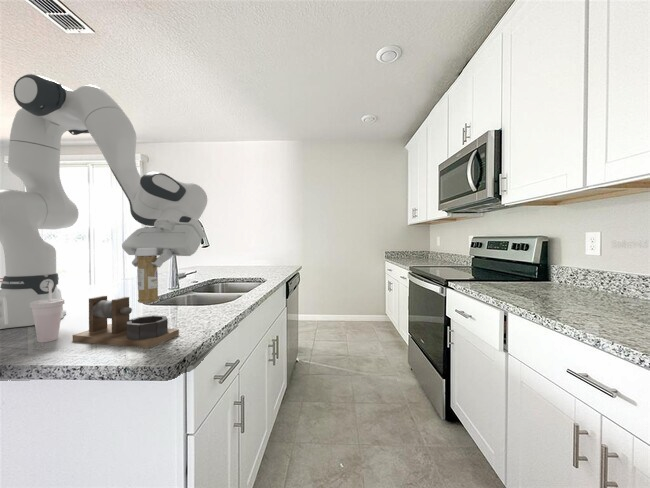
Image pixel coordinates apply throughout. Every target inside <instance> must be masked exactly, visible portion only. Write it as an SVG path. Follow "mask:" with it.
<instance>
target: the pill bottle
mask: <svg viewBox="0 0 650 488" xmlns="http://www.w3.org/2000/svg"><path fill="white" fill-rule="evenodd" d="M157 255H158V250H157V248H137V249H136V256H137V265H138V267H136V268H137V270H136V271H137V276H136V277H137V290H138V293H137V294H138V295H137V296H138V297H137V298H138V300H137V302H138V303H140V304H151V303H154V302H157V301H159V293H158V292H159V289H158V288H159V283H158V282H159V281H158V274H159V273H158V267H153V265H152V264H151V262H152V261H153V259H154V258H158V256H157Z"/></svg>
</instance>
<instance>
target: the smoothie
mask: <svg viewBox="0 0 650 488" xmlns="http://www.w3.org/2000/svg"><path fill="white" fill-rule="evenodd" d="M64 304H65V299H64V298H62V299H52V283H49V299H46V300H38V301H34V302H31V303H30V307H31V308H32V312H33V318H34V323H35V325H34V328H35V335H36V337H37V343H49V342H54V341H56V340H58V338H59V334H60V327H61V320H62V318H61V314H62V307H63V308H64V306H63V305H64Z"/></svg>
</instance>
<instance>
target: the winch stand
mask: <svg viewBox="0 0 650 488" xmlns="http://www.w3.org/2000/svg"><path fill="white" fill-rule="evenodd" d="M132 312H133V309H132V307H130V296H124V297H118V298H114V299H113V298H112V299H111V300H108V295H100V296H95V297H89V298H88V330H85V331H82V332H79V333H75V334H72V342H74V343H75V342H77V343H85V344H86V343H88V344H96V345H97V344H100V345H108V346H119V347H129V348H130V347H131V348H140V349H151V348H153V347H155V346H157V345H160V344H162V343H165V342H167V341H168V340H171V339H173V338H175V337H178V336H179V334H180V333H179V331H180V330H179V329H178V328H177V329H176V328H169V327H168V324H169V322H168V317H167V315H158V314H156V315H153V314H152V315H146V316H137V317H134V318H131V319H130V314H131V313H132ZM108 319H111V323H108Z"/></svg>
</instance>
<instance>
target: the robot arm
mask: <svg viewBox="0 0 650 488" xmlns="http://www.w3.org/2000/svg"><path fill="white" fill-rule="evenodd" d="M13 96H14V100H15V102H16V104H17V105H18V106H19V107H21V108H19V109H18V110H17V111H16V113H15V116H14V119H13V121H12V124H11V128H10V134H9V144H8V158H7V159H8V160H7V166H8V169H9V170H10V172H11V173H12V174H13V175H15V176H16V177H17V178H18V179H20V180H21V182H22V183H23V184H24V187H25V190H26V191H24V190H16V189H15V190H14V189H11V188H10V189H8V188H0V244H1V246H2V248H3V254H4V262H5V263H4V266H5V267H4V268H5V275H4V276H3V277H2V278H0V283H1V284H0V330H3V329H9V328H11V329H12V328H22V327H29V326H35V323H34V318H33V312H32V308H31V307H30V303H31V302H34V301H38V300H46V299H49V283H52V299H63V298H62V291H61V290H60V288H58V285H59V273H57V250H56V248H55V247H54V245H52V244H50V243H48V242H46V241H45V239H43V238H42V236H41V234H40V231H39V230H59V229H66V228H71V227H72V226H74V225H75V224H76V222H77V221H78V218H79V208H78V207H77V205H76V203H74V201H72V200H71V199H70V197H68V195H67V193H66V192H65V190H64V187H63V184H62V182H61V181H62V180H61V174H60V166H61V165H60V161H61V160H60V159H61V144H62V143H61V141H62V136H63V135H64V134H65V133H67V132H69V134H71V135H73V136H78V135H80V134H90V136H91V137H92V138H93V140H94V142H95V143H96V146H97V147H98V148H99V151H101V154H102V156H103V157H104V159H105V161H106V163H107V165H108V167H109V169H110V171H111V173H112V174H113V176H114V178H115V179H116V181H117V184H118V185H119V186H120V188H121V190H122V191H123V193H124V195H125V197H126V198H127V200H128V204H129V211H130V214H131V217H132V218H133V219H134V220H135V221H136V222H138V223H139V224H141V225H144V226H145V227H139V228H138V229H136V230H134V231H133V232H132V233H131V234H130V235H129V236H128V237H127V238H126V239H124V241H123V242H122V243H121V248H122V249H123V250H124V252H125V253H126V254H127V255H128V256H134V258H133V260H132V262H131V265H132V266H133V267H135V268H138V265H137V256H136V249H137V248H157V250H158V255H157V258H154V259H153V261H152V262H151V264H152V265H153V267H157V268H161V267H162V266H163V263H166V262H167V261H169V260H170V259H171V258H172V257H191V256H193V255H194V254H195V253H196V252H197V250H198V249H199V247H200V245H201V243H202V239H204V237H205V233H204V230H203V229H202V227H201V225H200V223H199V222H198V221H199V219H200V218H201V217H202V215H203V213H204V212H205V209H206V207H207V206H208V205H207V204H208V196H207V192H206V191H205V189H203V187H202V186H200V185H198V184H196V183H194V182H192V183H191V182H189V183H188V182H187V183H186V182H182V181H179V180H176V179H174V177H171V176H170V175H168V174H166V173H163V172H160V171H159V172H158V171H151V172H146V173H144V174H143V175H142V176H141V175H140V173H139V171H138V168H137V163H136V148H137V133H136V130H135V128H134V125H133V122H131V119H130V118H129V116H128V115H127V114H126V113H125V112H124V110H123V109H122V107H120V105H119V104H118V103H117V102H116V101H115V99H114V98H113V97H112V96H111V95H109V94H108V92H106V91H105V90H104V89H102V88H101V87H98V86H96V85H92V84H88V85H85V84H84V85H81V86H79V87H77V88H76V89H75V90H73V89H71V88H69V87H66V86H65V85H64V86H63V85H62V84H61V83H59V82H57V81H55V80H52V79H50V78H48V77H46V76H45V77H44V76H42V75H36V74H32V73H28V74H25V75H22V76H20V77H19V78H18V79H17V80H16V81H15V83H14V86H13ZM65 315H67V311H66V310H64V306H63V307H62V314H61V319H63V318H64V317H65Z"/></svg>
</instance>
